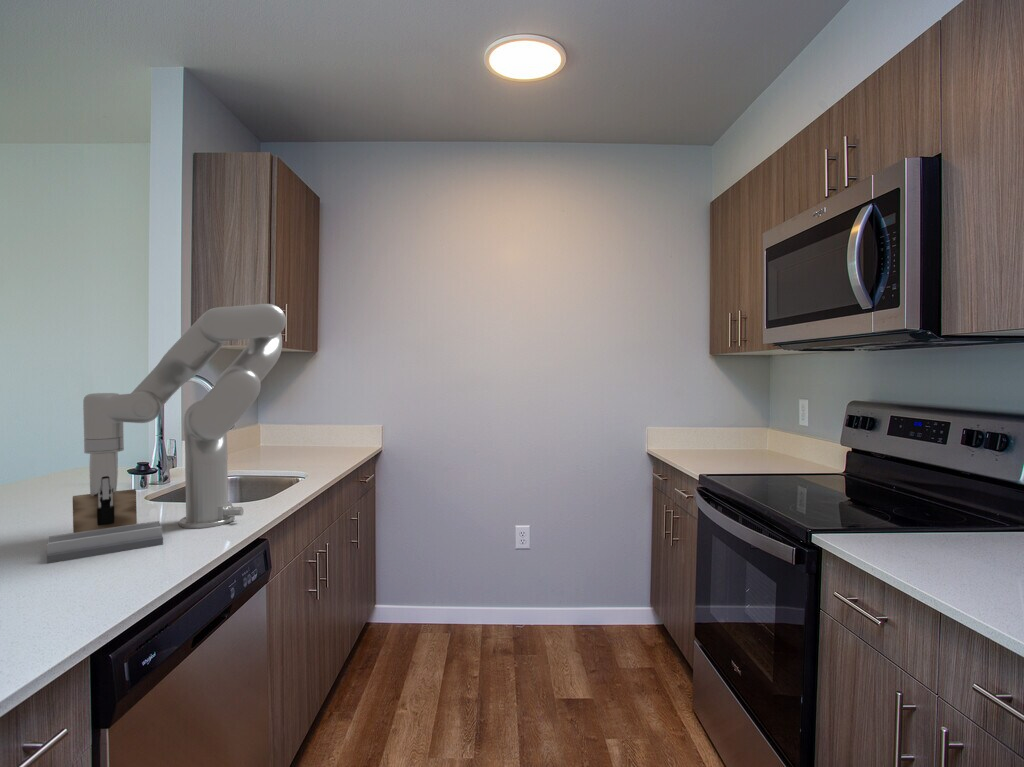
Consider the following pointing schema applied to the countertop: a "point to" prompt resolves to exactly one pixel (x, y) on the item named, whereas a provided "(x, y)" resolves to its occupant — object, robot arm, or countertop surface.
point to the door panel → (88, 507)
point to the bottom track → (103, 541)
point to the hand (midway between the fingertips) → (105, 521)
